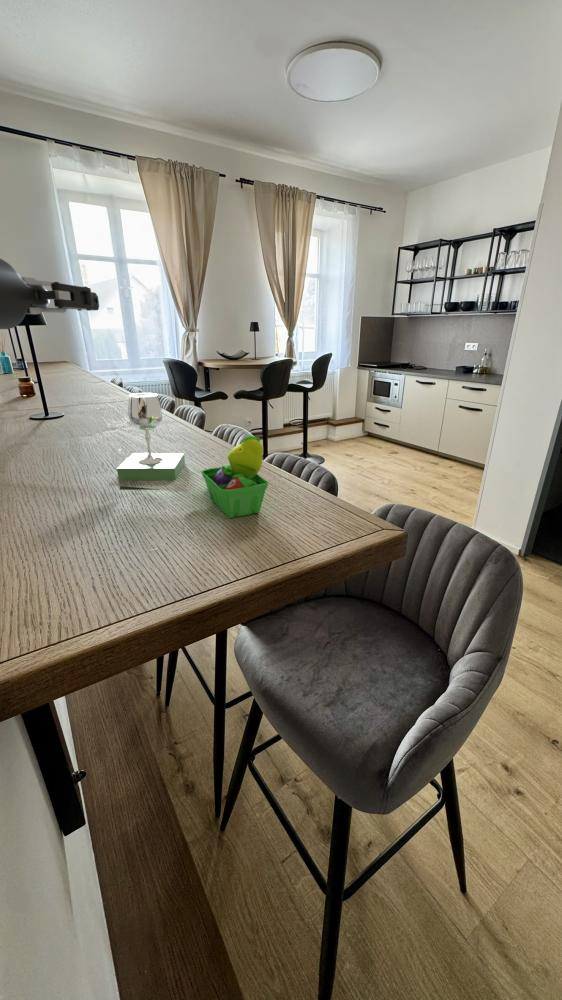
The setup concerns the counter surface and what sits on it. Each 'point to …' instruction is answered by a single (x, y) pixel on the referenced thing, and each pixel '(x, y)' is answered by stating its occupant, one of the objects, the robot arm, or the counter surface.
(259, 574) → the counter surface
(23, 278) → the robot arm
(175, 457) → the green block
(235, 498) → the fruit basket
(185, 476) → the counter surface
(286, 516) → the counter surface
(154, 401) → the wineglass
